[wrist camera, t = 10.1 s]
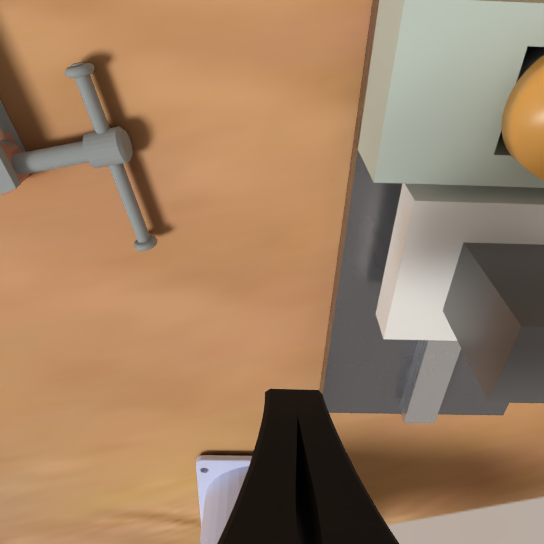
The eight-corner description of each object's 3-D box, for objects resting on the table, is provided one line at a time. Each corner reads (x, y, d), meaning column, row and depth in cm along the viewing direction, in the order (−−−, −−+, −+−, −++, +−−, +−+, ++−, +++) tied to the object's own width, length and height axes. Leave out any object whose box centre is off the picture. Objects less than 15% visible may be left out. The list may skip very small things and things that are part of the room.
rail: (495, 400, 26) (511, 430, 25) (318, 397, 26) (321, 427, 24) (675, 1, 15) (724, 6, 14) (374, -12, 15) (387, -8, 13)
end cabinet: (608, 149, 18) (685, 191, 15) (353, 140, 18) (373, 182, 15) (675, 1, 15) (787, 13, 12) (374, -12, 15) (405, -3, 12)
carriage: (537, 317, 20) (627, 436, 15) (375, 313, 20) (412, 432, 15) (596, 187, 17) (737, 284, 12) (402, 181, 17) (462, 277, 12)
